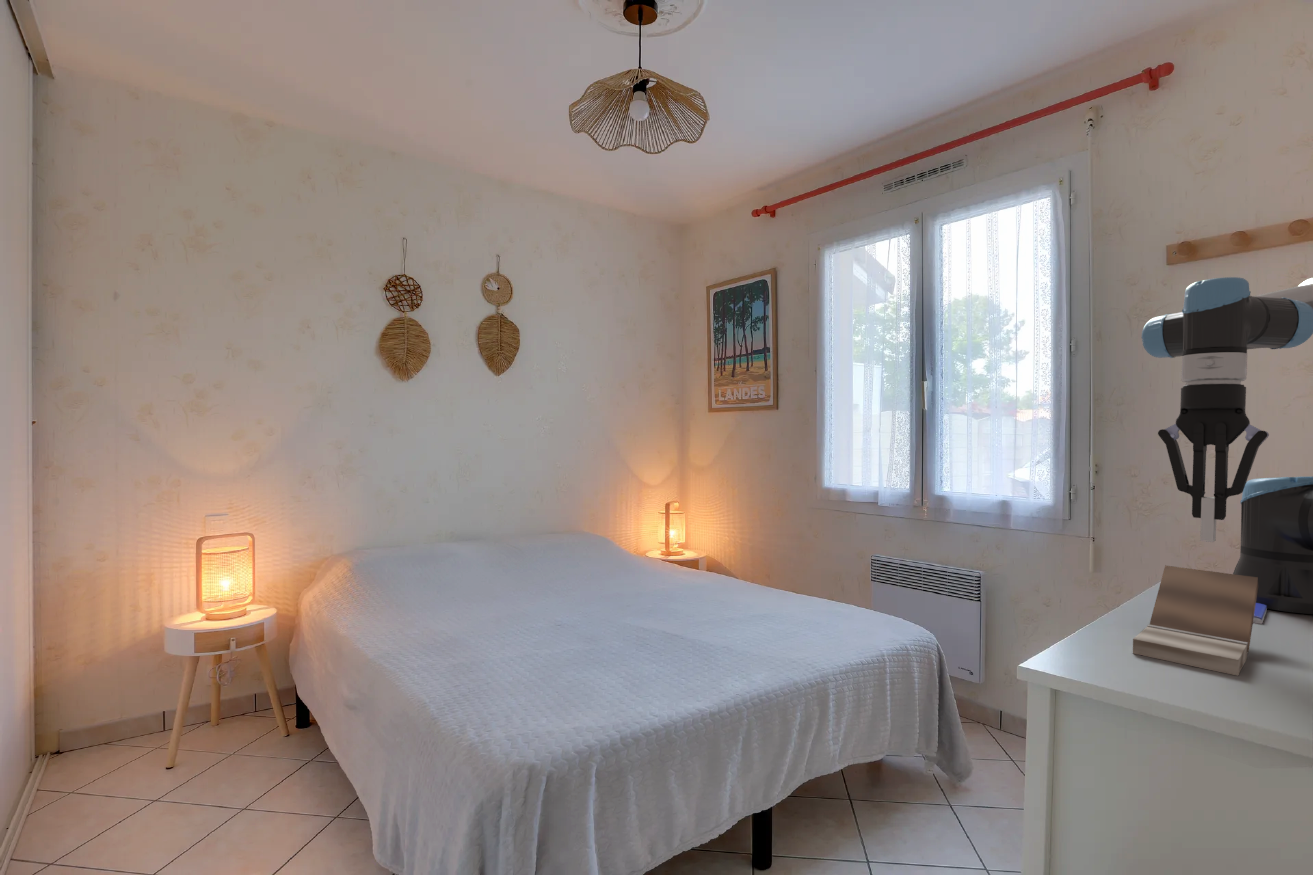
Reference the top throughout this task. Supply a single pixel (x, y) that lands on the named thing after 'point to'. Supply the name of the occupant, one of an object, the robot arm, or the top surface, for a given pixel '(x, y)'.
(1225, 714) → the top surface
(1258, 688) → the top surface
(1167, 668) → the top surface
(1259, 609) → the hard drive
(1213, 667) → the grey oak plank
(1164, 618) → the walnut plank
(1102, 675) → the top surface
